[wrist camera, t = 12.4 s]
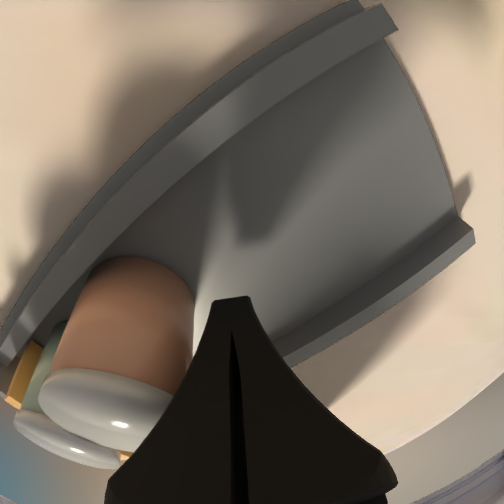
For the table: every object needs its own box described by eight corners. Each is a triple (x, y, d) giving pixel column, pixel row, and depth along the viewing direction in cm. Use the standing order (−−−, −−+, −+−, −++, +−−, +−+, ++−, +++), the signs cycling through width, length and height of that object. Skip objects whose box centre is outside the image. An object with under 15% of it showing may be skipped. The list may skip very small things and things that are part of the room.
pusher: (26, 346, 13) (0, 411, 9) (31, 339, 13) (4, 408, 9) (128, 409, 17) (121, 471, 13) (138, 405, 17) (132, 469, 13)
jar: (61, 272, 11) (9, 386, 6) (166, 238, 11) (138, 379, 6) (120, 348, 14) (102, 452, 9) (213, 329, 14) (219, 449, 9)
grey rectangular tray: (-4, 338, 14) (-23, 379, 11) (348, 1, 7) (403, -22, 4) (127, 420, 20) (123, 459, 17) (456, 231, 13) (498, 271, 10)
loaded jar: (53, 360, 14) (26, 441, 9) (46, 305, 12) (0, 406, 7) (131, 387, 16) (117, 474, 11) (144, 341, 13) (122, 455, 8)
